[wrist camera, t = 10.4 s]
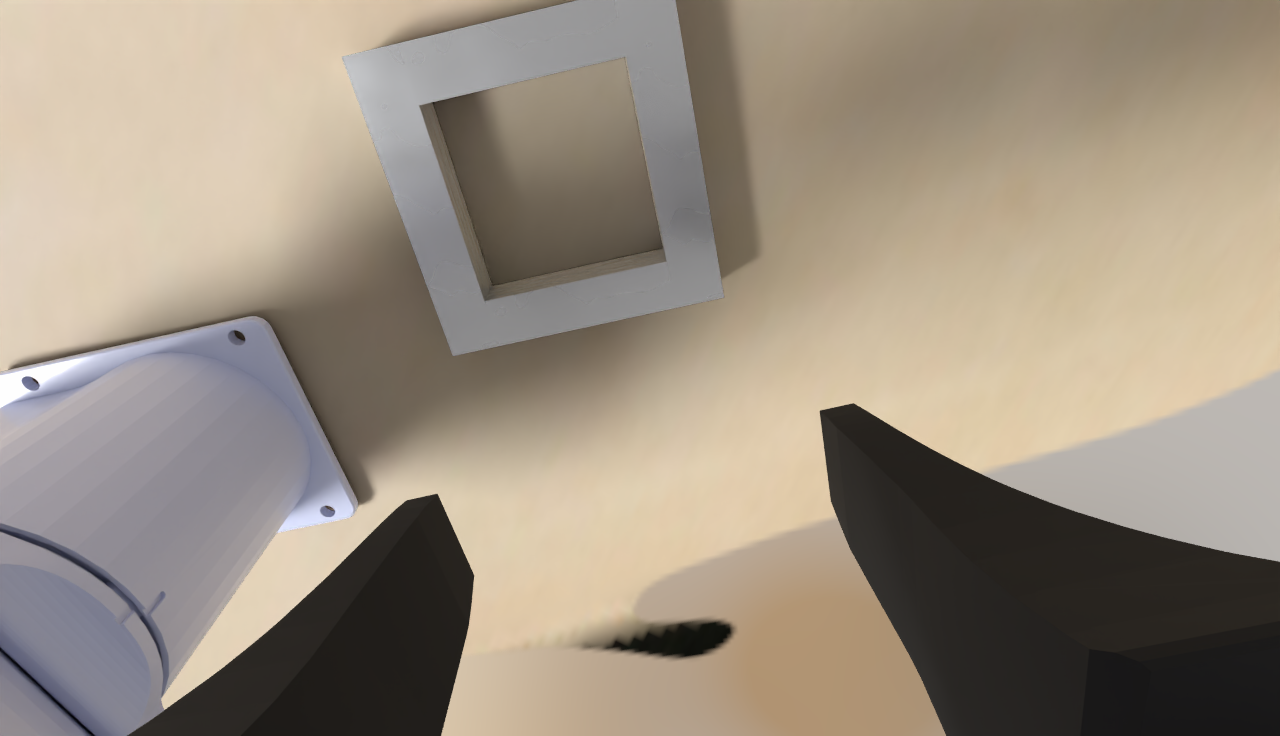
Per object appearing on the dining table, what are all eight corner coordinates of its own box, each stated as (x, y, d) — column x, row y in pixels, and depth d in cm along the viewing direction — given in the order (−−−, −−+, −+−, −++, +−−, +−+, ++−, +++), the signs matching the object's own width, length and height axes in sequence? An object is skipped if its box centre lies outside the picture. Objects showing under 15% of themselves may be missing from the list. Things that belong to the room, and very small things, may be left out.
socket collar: (462, 337, 22) (452, 356, 20) (361, 57, 18) (341, 56, 17) (716, 282, 21) (724, 297, 20) (666, -16, 18) (671, -23, 16)
